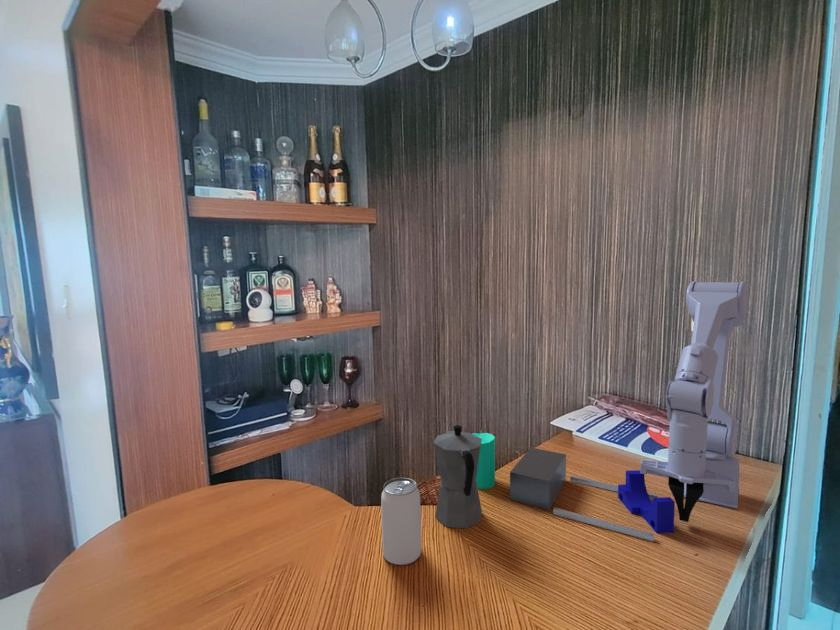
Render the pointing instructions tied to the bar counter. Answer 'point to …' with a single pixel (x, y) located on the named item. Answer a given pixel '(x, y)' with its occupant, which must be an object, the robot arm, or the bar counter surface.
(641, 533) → the grey block with bars
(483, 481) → the candle
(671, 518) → the cable clip
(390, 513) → the can
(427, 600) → the bar counter surface
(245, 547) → the bar counter surface
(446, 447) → the coffeepot
